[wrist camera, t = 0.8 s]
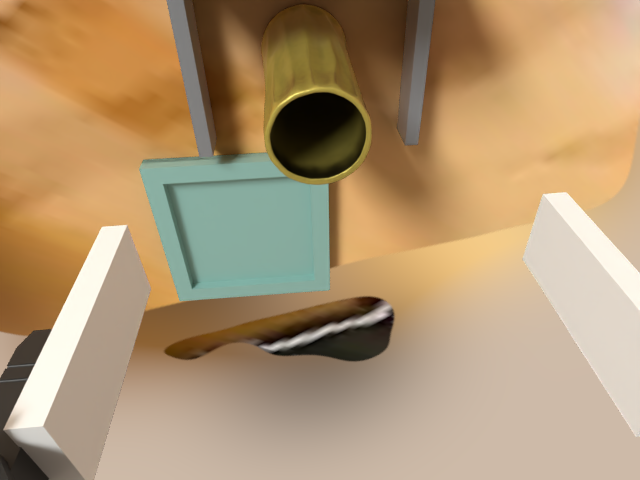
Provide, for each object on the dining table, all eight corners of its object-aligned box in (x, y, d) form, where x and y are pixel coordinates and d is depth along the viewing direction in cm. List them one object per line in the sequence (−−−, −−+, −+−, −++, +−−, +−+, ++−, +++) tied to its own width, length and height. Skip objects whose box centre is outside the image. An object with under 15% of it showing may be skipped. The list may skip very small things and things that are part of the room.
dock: (204, 139, 37) (185, 210, 29) (162, -71, 28) (120, -49, 20) (408, 127, 38) (444, 194, 30) (430, -81, 29) (488, -63, 21)
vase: (243, 37, 32) (228, 124, 21) (316, -17, 31) (341, 48, 20) (293, 106, 36) (301, 212, 25) (361, 61, 34) (403, 153, 23)
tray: (182, 290, 47) (179, 301, 46) (143, 159, 38) (139, 169, 36) (328, 279, 48) (330, 290, 47) (326, 149, 38) (328, 157, 37)
